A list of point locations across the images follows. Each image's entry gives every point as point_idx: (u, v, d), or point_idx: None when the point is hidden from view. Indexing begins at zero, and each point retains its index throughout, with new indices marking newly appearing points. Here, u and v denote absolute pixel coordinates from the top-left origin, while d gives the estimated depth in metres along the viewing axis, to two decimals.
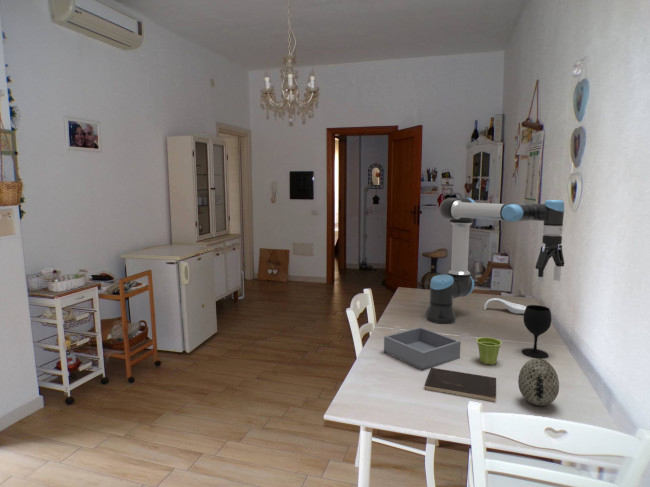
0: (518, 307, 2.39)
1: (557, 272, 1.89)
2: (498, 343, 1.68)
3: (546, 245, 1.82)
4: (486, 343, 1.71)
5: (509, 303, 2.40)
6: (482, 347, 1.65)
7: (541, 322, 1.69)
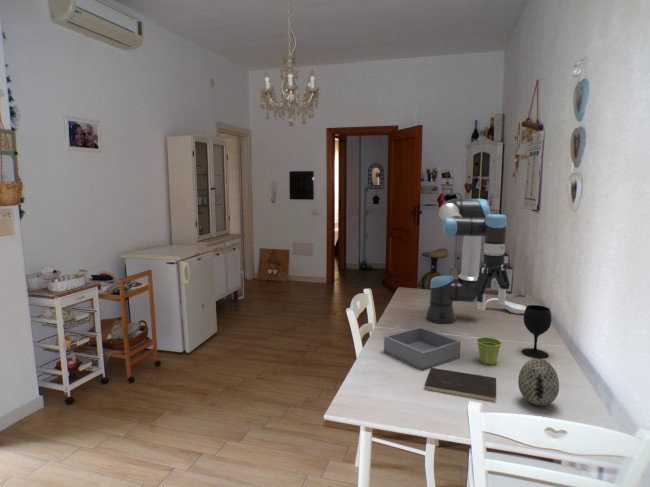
0: (518, 307, 2.39)
1: (501, 295, 1.68)
2: (498, 343, 1.68)
3: (486, 266, 1.61)
4: (486, 343, 1.71)
5: (509, 303, 2.41)
6: (482, 347, 1.65)
7: (541, 322, 1.69)
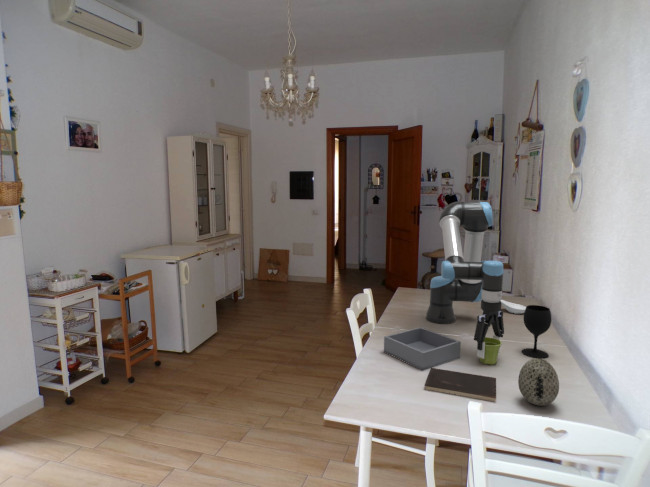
0: (517, 307, 2.40)
1: None
2: (498, 343, 1.68)
3: (484, 312, 1.64)
4: (486, 343, 1.71)
5: (508, 303, 2.41)
6: None
7: (541, 322, 1.69)
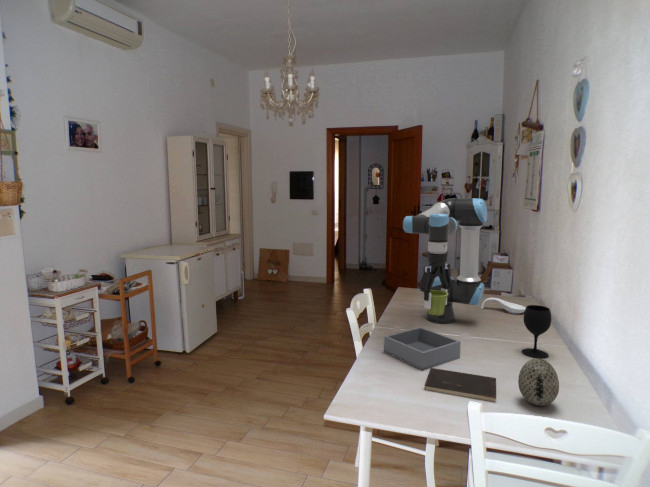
0: (516, 307, 2.40)
1: None
2: (445, 295, 1.71)
3: (430, 263, 1.67)
4: (434, 296, 1.74)
5: (507, 303, 2.41)
6: None
7: (541, 322, 1.69)
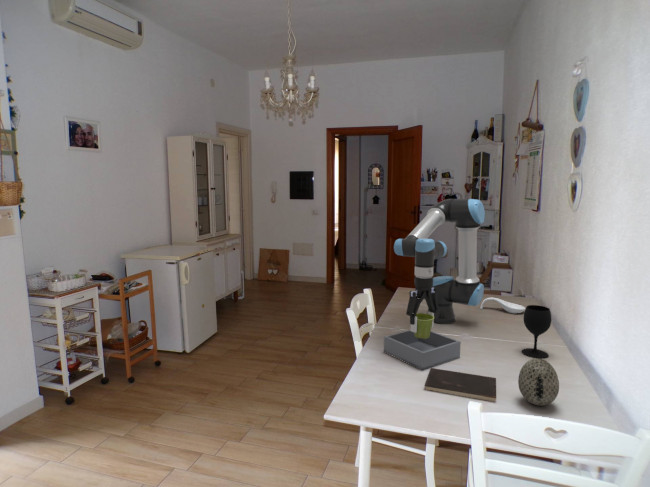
0: (515, 307, 2.40)
1: None
2: (431, 318, 1.73)
3: (416, 288, 1.69)
4: (421, 319, 1.77)
5: (506, 303, 2.41)
6: None
7: (541, 322, 1.69)
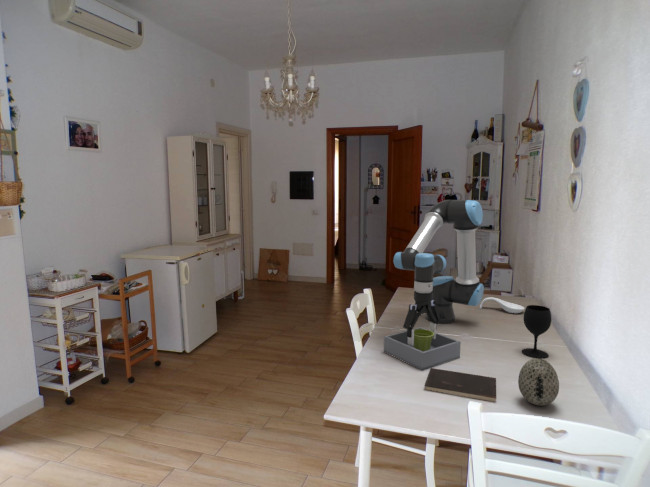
0: (514, 307, 2.40)
1: (432, 329, 1.77)
2: (431, 334, 1.74)
3: (416, 302, 1.70)
4: (421, 335, 1.78)
5: (505, 302, 2.42)
6: (415, 338, 1.72)
7: (541, 322, 1.69)
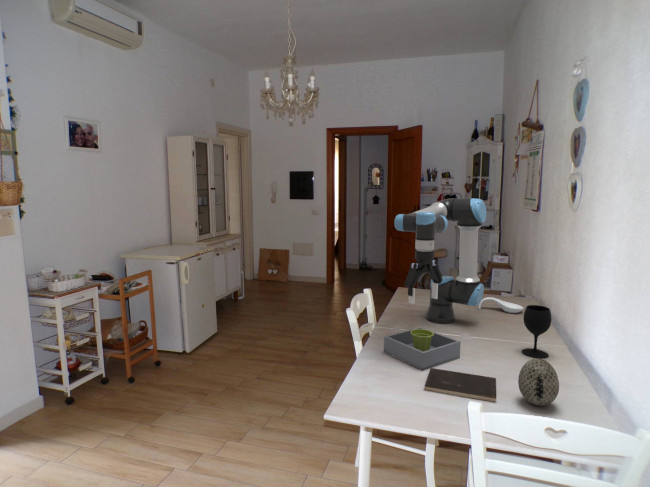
0: (512, 306, 2.41)
1: (434, 289, 1.75)
2: (431, 334, 1.74)
3: (417, 261, 1.68)
4: (421, 335, 1.78)
5: (503, 302, 2.42)
6: (415, 338, 1.72)
7: (541, 322, 1.69)
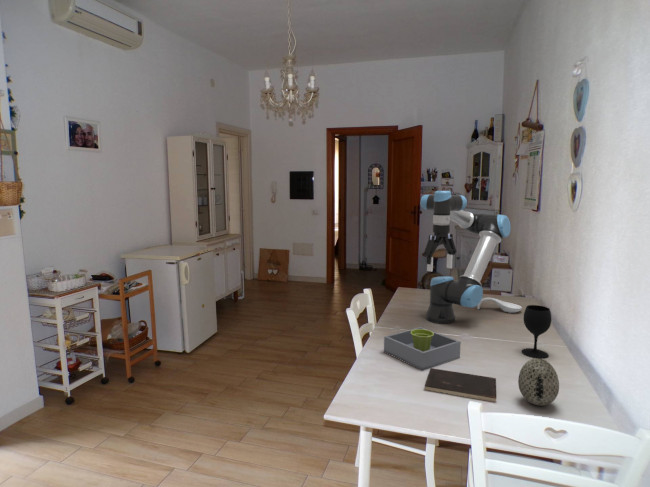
0: (510, 306, 2.42)
1: (449, 260, 1.98)
2: (431, 334, 1.74)
3: (435, 234, 1.92)
4: (421, 335, 1.78)
5: (502, 302, 2.42)
6: (415, 338, 1.72)
7: (541, 322, 1.69)
